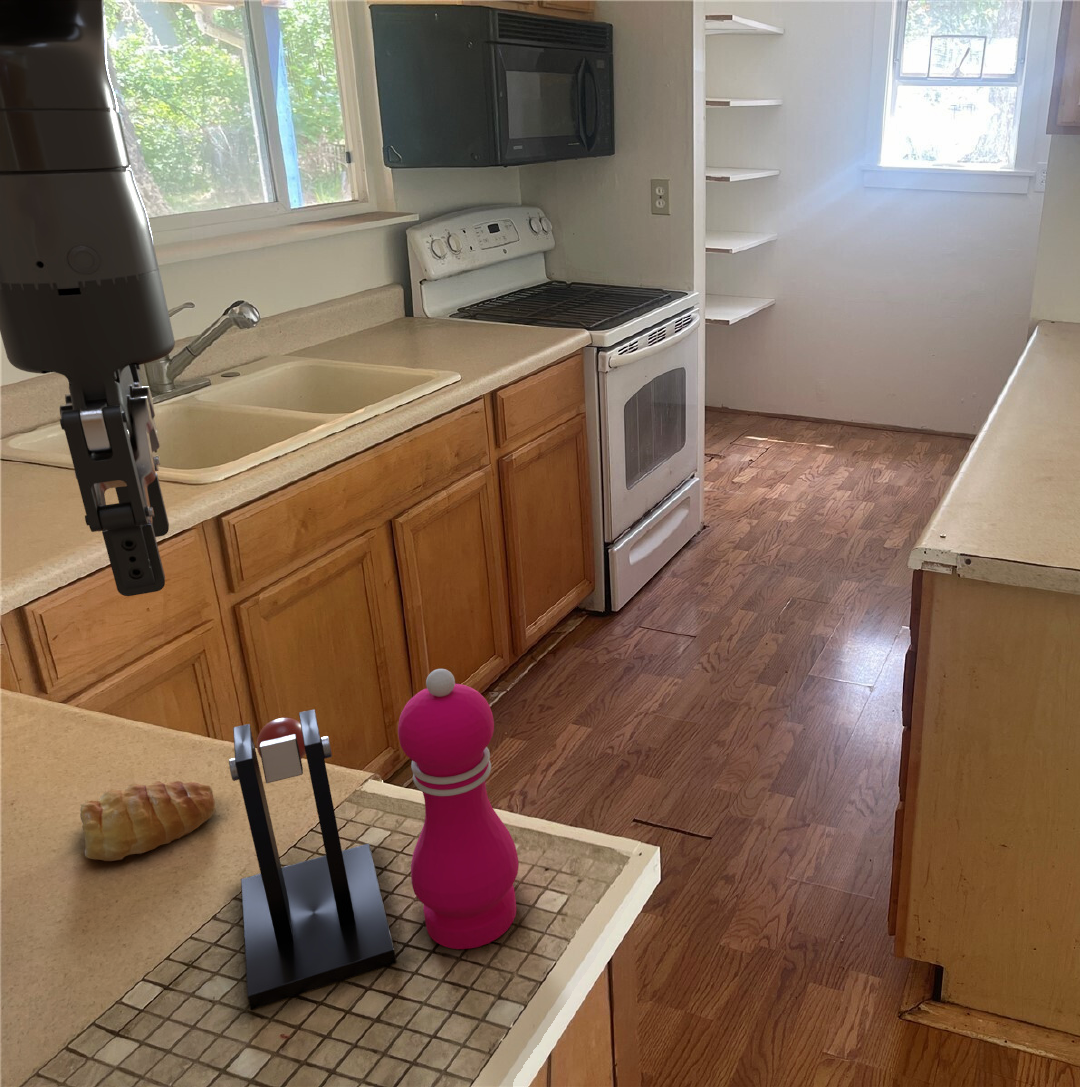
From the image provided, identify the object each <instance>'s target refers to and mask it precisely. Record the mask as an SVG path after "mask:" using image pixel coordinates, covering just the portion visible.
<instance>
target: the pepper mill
mask: <svg viewBox="0 0 1080 1087" xmlns="http://www.w3.org/2000/svg"><path fill="white" fill-rule="evenodd" d="M425 686H426V688H424V689H422V690H420V691H418V692H417V693H416V694H414V695H413V696H412V697H411V698H410V699H409V700H408V701H407V703H406V704H405V705H404V707H403V709H402V711H401V713H400V714H399V715H400V716H399V718H398V725H397V736H398V740H399V745H400V747H401V750H402V752H404V754H405V756H406V757H408V758H409V759H410V760H411V764H410V766H411V771H412V774H413V775H412V781H413V784H414V786H415V787H416V788H417V789H418V790H419V791H421V792H422V795H423V800H424V822H423V825H422V829H421V830H420V834H419V836H418V839H417V841H416V844H415V847H414V849H413V852H412V859H411V862H410V877H411V878H410V879H411V880H410V881H411V882H410V883H411V887H412V890H413V893H414V895H415V896H416V898H417V899H418V901H419V902H421V903H422V904H423V906H422V907H423V909H422V910H423V916H424V922H425V928H426V931H427V934H428V935H429V937H430V939H432V940H433V941H434V942H435V943H436V944H439V945H440V946H442V947H445V948H449V949H453V950H470V949H476V948H480V947H482V946H486V945H488V944H491V943H493V942H494V941H495V940H497V939H499V938H501V936H503V935H504V934H505V933H506V932H507V931H508V930H509V929H510V927H511V926H512V924H513V923H514V920H515V919H516V915H517V900H516V892H515V891H516V890H515V886H514V883H515V882H516V880H517V876H518V874H519V866H520V863H519V857H518V852H517V846H516V844H515V841H514V839H513V837H512V835H511V832H510V830H509V829H508V828H507V826H506V825H505V823H504V822H503V821H502V819H501V818H500V816H499V815H498V813H497V812H496V811H495V809H494V808H493V806H492V804H491V802H490V799H489V795H488V791H487V786H486V780H487V778H488V777H489V776H490V773H491V771H492V763H491V760H490V758H491V753H490V749H489V748H488V746H489V744H490V743H491V741H492V738H493V736H494V735H493V734H494V733H495V732H494V731H495V720H494V715H493V712H492V709H491V706H490V704H489V703H488V701H487V699H486V698H485V697H484V696H483V695H482V693H480V691H477V690H476V689H475V688H473V687H471V686H468V685H465V684H462V683H461V684H460V683H456V678H455V676H454V674H453V673H452V672H451V671H449V670H448V669H445V668H437V669H434V670H432V671H431V672H430V673H429V674H428V675H427V677H426V681H425Z"/></svg>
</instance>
